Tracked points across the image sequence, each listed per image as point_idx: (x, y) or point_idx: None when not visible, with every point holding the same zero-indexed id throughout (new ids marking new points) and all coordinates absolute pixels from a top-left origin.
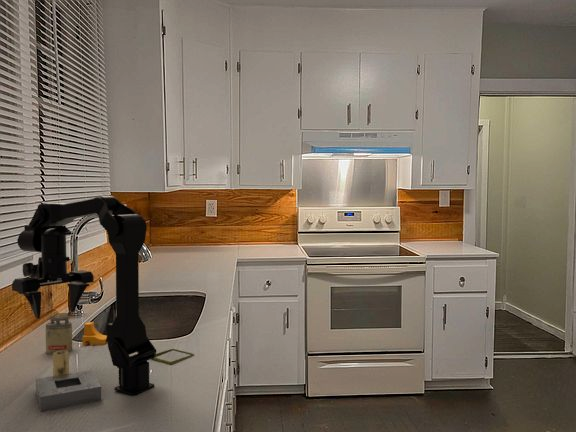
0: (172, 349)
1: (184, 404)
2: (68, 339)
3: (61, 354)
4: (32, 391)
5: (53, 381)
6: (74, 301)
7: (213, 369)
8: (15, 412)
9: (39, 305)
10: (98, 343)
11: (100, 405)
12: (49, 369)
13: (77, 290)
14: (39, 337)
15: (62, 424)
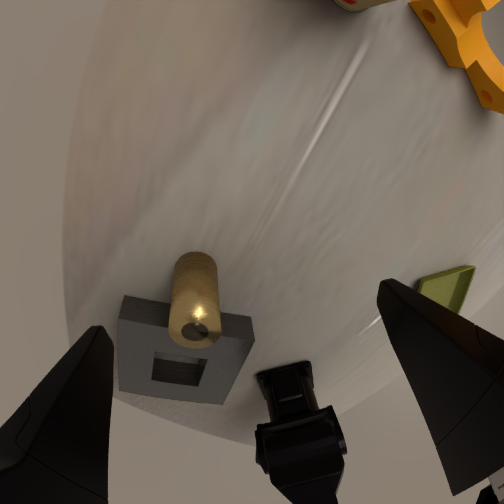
0: (473, 268)
1: None
2: (376, 1)
3: (190, 346)
4: (118, 285)
5: (152, 352)
6: (411, 375)
7: None
8: None
9: (99, 452)
10: (447, 48)
11: None
12: (210, 137)
13: (448, 458)
14: None
15: (145, 406)
